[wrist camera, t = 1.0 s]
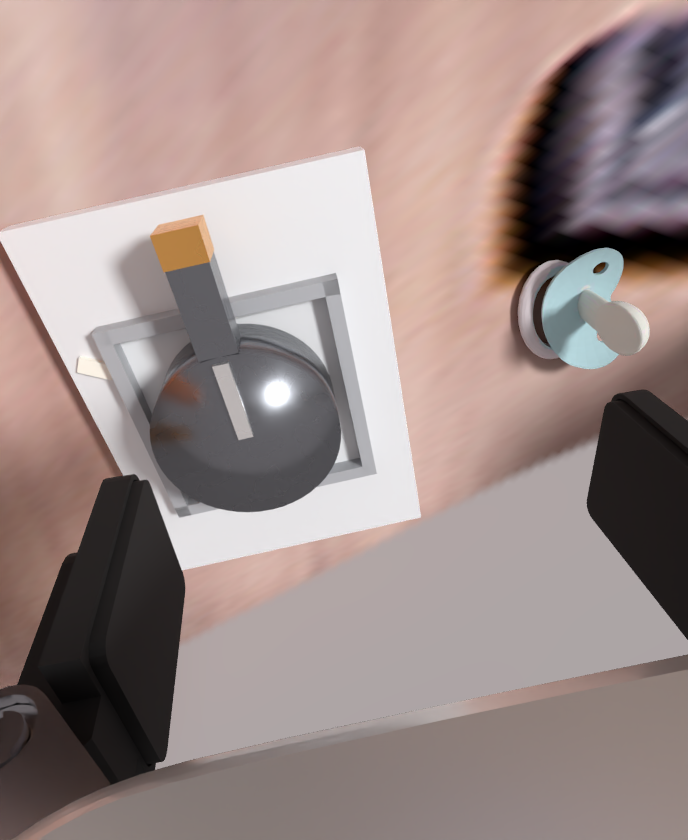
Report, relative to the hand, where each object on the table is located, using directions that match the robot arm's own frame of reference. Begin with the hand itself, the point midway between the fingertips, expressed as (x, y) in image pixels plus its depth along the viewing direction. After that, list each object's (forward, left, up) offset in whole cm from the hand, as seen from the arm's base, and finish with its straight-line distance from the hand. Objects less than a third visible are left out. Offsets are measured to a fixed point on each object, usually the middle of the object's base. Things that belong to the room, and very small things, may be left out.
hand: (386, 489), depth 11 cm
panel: (+6, +8, -22) cm, 24 cm away
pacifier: (-14, +7, -22) cm, 27 cm away
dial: (+6, +5, -20) cm, 22 cm away
